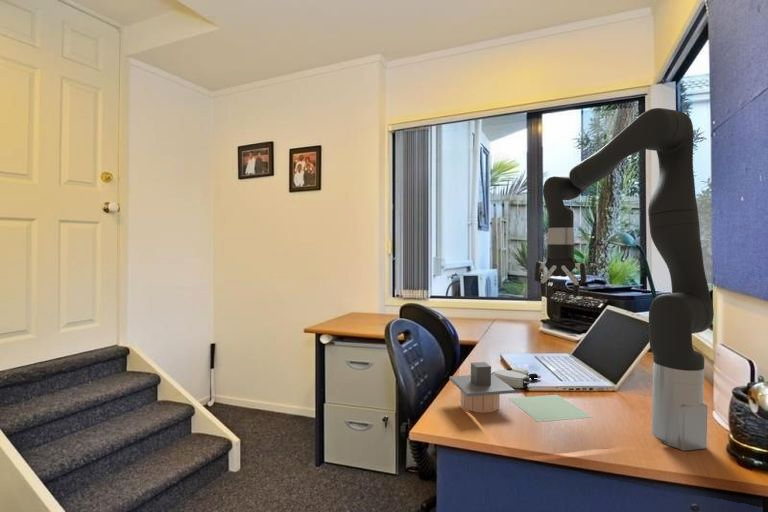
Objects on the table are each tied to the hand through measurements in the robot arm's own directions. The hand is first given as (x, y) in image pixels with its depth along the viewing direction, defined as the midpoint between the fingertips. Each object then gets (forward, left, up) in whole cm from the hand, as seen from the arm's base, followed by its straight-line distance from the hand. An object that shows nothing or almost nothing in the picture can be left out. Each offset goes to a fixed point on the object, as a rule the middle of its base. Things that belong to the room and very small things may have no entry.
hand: (559, 296), depth 124 cm
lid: (-10, +30, -22) cm, 38 cm away
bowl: (-10, +30, -28) cm, 42 cm away
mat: (-15, +13, -28) cm, 34 cm away
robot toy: (+5, +12, -28) cm, 31 cm away
